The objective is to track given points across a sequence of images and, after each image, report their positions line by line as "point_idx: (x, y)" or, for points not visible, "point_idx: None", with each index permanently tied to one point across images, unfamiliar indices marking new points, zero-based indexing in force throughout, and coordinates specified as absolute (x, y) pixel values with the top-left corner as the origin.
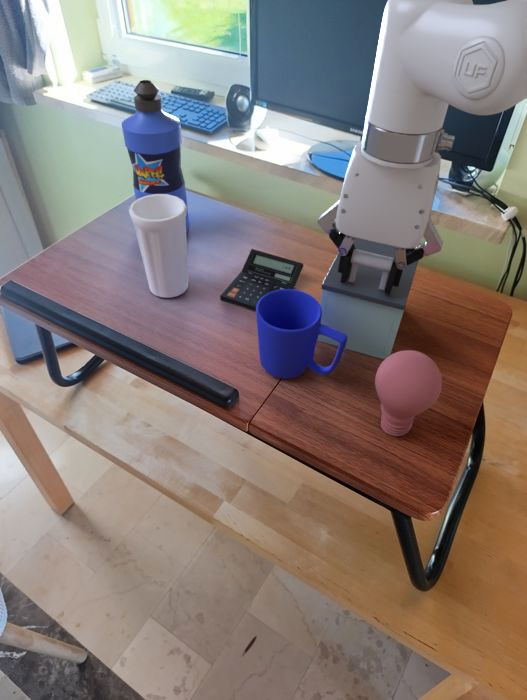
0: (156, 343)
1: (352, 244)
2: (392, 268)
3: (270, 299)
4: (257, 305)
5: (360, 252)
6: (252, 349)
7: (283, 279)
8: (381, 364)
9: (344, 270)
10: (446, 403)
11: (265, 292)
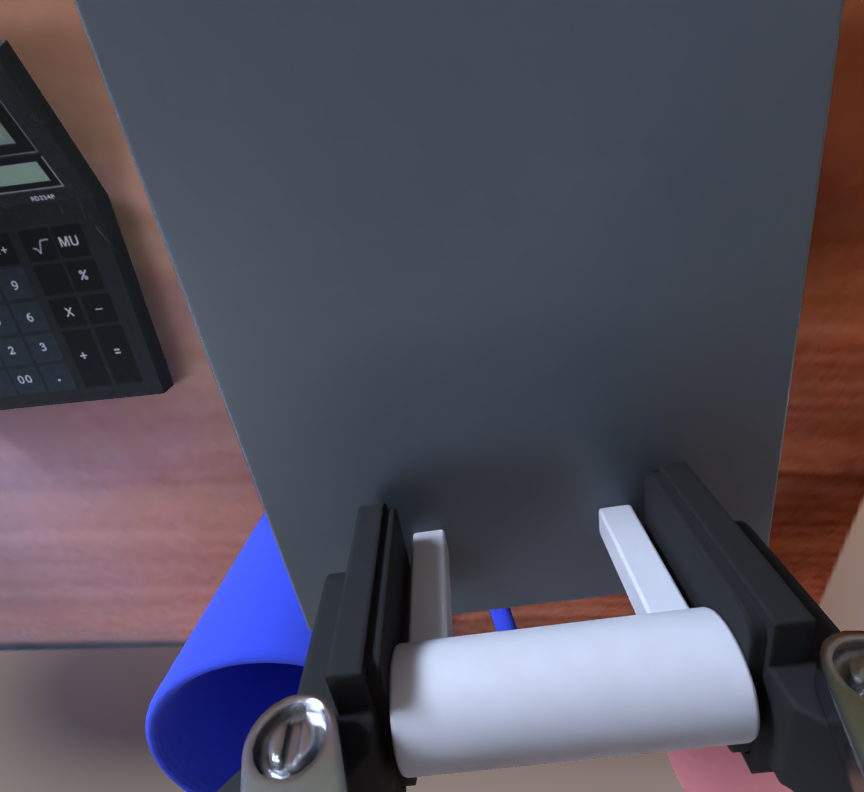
0: (13, 627)
1: (360, 779)
2: (752, 770)
3: (175, 704)
4: (172, 780)
5: (461, 769)
6: (225, 530)
7: (22, 185)
8: (694, 789)
9: None
10: (813, 433)
11: (41, 306)
